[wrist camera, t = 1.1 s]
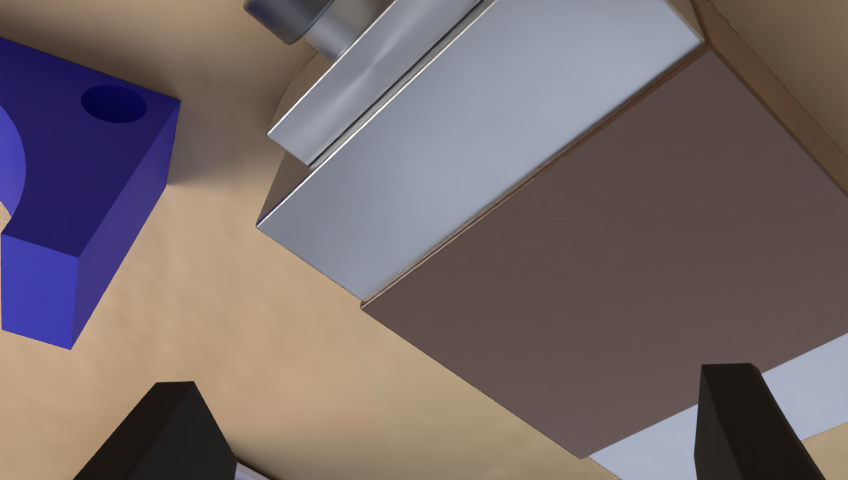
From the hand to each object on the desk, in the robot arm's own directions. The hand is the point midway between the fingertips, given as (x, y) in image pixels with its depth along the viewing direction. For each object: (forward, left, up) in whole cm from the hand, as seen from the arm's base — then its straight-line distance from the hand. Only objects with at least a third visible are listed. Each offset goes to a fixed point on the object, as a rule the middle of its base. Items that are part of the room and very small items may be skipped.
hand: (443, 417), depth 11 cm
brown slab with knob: (0, -4, -10) cm, 11 cm away
